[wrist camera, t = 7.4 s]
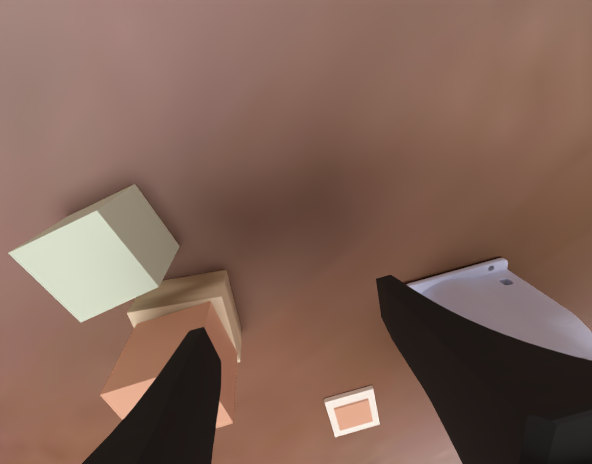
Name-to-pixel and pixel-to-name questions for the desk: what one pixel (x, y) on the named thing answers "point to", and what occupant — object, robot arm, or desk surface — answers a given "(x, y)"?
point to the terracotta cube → (158, 350)
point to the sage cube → (101, 254)
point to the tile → (352, 411)
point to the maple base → (191, 301)
